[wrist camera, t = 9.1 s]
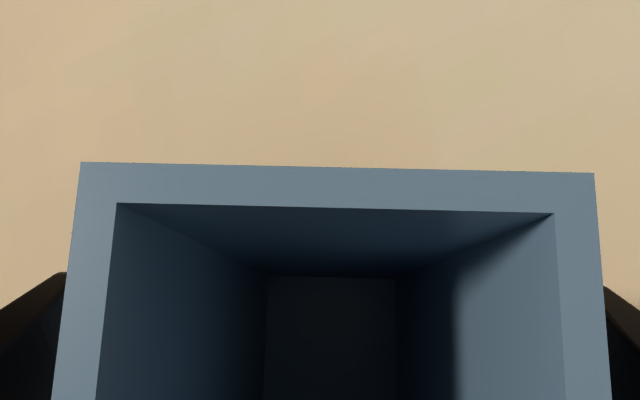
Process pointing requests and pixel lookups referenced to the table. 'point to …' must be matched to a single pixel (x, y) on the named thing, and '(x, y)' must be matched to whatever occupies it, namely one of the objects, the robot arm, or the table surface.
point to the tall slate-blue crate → (332, 285)
